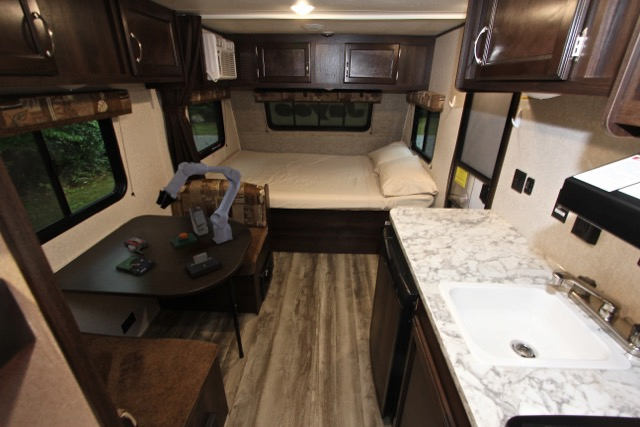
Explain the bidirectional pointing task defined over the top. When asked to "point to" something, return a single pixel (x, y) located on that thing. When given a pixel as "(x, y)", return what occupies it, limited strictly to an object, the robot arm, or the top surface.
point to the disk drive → (135, 265)
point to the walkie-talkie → (135, 244)
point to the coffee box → (198, 220)
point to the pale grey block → (200, 258)
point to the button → (183, 235)
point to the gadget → (203, 267)
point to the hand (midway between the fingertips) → (159, 206)
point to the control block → (184, 241)
